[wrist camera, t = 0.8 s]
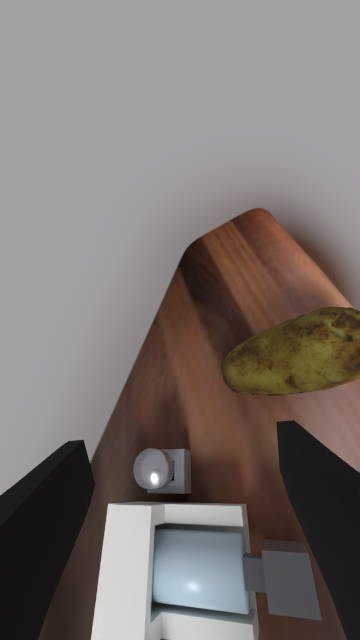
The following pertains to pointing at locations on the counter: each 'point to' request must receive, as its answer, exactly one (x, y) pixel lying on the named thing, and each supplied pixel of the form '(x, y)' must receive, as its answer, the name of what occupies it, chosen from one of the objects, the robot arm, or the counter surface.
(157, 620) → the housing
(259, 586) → the cartridge
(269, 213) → the counter surface
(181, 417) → the counter surface
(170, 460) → the plunger
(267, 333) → the potato
